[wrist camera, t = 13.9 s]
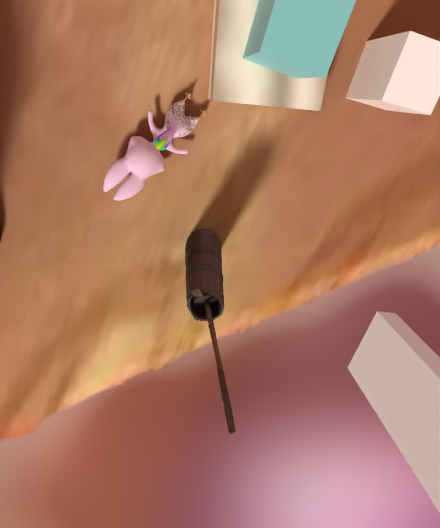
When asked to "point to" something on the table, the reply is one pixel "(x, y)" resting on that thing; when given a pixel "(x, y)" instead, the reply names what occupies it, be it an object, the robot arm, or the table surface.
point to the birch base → (252, 66)
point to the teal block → (297, 35)
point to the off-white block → (398, 74)
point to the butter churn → (207, 294)
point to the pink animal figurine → (150, 151)
